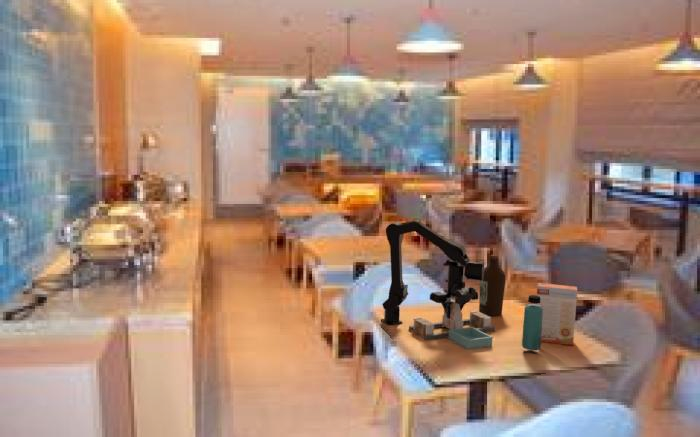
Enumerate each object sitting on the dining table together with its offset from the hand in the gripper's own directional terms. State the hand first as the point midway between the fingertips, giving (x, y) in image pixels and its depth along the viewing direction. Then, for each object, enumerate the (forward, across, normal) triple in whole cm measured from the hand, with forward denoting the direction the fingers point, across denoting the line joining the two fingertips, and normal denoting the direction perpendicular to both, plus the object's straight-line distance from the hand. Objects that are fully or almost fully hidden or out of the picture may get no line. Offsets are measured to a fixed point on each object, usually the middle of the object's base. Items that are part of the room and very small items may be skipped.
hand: (452, 317), depth 242 cm
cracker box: (+5, +29, -23) cm, 37 cm away
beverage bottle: (+5, +13, -29) cm, 32 cm away
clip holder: (+5, 0, 0) cm, 5 cm away
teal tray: (+5, -2, -14) cm, 15 cm away
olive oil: (+5, +29, +14) cm, 33 cm away
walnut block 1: (+5, -13, 0) cm, 14 cm away
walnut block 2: (+5, +13, 0) cm, 14 cm away
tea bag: (+4, 0, 0) cm, 4 cm away
